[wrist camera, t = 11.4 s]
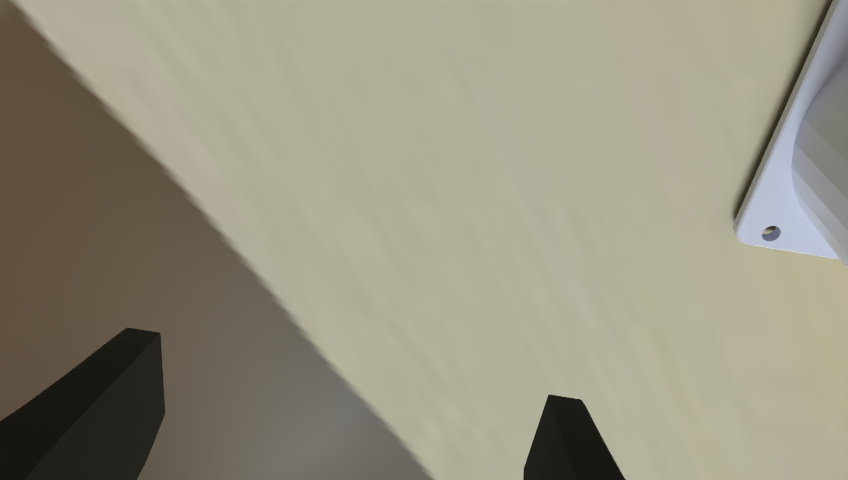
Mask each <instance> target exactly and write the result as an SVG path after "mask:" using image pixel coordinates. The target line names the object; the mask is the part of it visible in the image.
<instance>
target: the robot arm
mask: <svg viewBox="0 0 848 480" xmlns="http://www.w3.org/2000/svg"><path fill="white" fill-rule="evenodd" d="M769 226H776V228H775V229H774V231H773V232H771V233H769V234H762V232H763V231H764V229H765V228H767V227H769ZM733 230H734V233H735V235H736V236H737V238H738V239H739V240H740V241H741V242H742V243H745V244H748V245H754V246H760V247H767V248H773V249H779V250H785V251H791V252H797V253H803V254H809V255H815V256H821V257H827V258H833V259H839V260H841V261H842V262H843V264H844V265H845V266H846V267H847V269H848V0H833V1H832V3H831V6H830V8H829V10H828V12H827V15H826V17H825V19H824V21H823V24H822V26H821V28H820V30H819V33H818V35H817V37H816V39H815V42H814V44H813V46H812V48H811V51H810V53H809V55H808V57H807V60H806V62H805V64H804V66H803V69H802V71H801V73H800V75H799V78H798V80H797V82H796V84H795V87H794V89H793V91H792V93H791V95H790V98H789V100H788V102H787V104H786V107H785V109H784V111H783V113H782V116H781V118H780V120H779V122H778V125H777V127H776V129H775V131H774V134H773V136H772V138H771V140H770V143H769V145H768V147H767V149H766V152H765V154H764V156H763V158H762V161H761V163H760V165H759V167H758V170H757V172H756V174H755V176H754V179H753V181H752V183H751V185H750V188H749V190H748V192H747V194H746V197H745V199H744V201H743V203H742V206H741V208H740V210H739V212H738V215H737V217H736V219H735V221H734V225H733ZM164 415H165V403H164V388H163V370H162V354H161V336H160V333H158V332H152V331H145V330H139V329H132V328H126V329H125V330H123V331H122V332H120V333H119V334H117V335H116V336H115V337H114V338H112V339H111V340H110V341H108V342H107V343H106V344H104V345H103V346H102V347H101V348H99V349H98V350H97V351H95V352H94V353H93V354H92V355H90V356H89V357H88V358H86V359H85V360H84V361H83V362H81V363H80V364H79V365H77V366H76V367H75V368H73V369H72V370H71V371H70V372H68V373H67V374H66V375H64V376H63V377H62V378H60V379H59V380H58V381H56V382H55V383H54V384H52V385H51V386H49V387H48V388H47V389H45V390H44V391H43V392H41V393H40V394H39V395H37V396H36V397H35V398H33V399H32V400H30V401H29V402H28V403H26V404H25V405H23V406H22V407H21V408H19V409H18V410H16V411H15V412H14V413H12V414H11V415H9V416H7V417H6V418H4V419H3V420H1V421H0V480H137V478H138V476H139V474H140V472H141V470H142V469H143V466H144V465H145V462H146V460H147V458H148V455H149V453H150V450H151V448H152V446H153V443H154V440H155V438H156V435H157V433H158V430H159V428H160V425H161V422H162V420H163V417H164ZM524 480H625V478H624V476H623V475H622V473H621V471H620V469H619V468H618V466H617V464H616V462H615V461H614V459H613V457H612V455H611V453H610V452H609V450H608V448H607V446H606V444H605V442H604V441H603V439H602V437H601V435H600V433H599V431H598V429H597V427H596V425H595V423H594V422H593V420H592V418H591V416H590V414H589V412H588V410H587V408H586V406H585V404H584V403H583V402H582V400H580V399H574V398H567V397H561V396H555V395H548V398H547V401H546V404H545V407H544V410H543V413H542V416H541V419H540V422H539V425H538V428H537V431H536V434H535V437H534V440H533V443H532V446H531V449H530V452H529V455H528V458H527V461H526V464H525V467H524Z"/></svg>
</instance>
